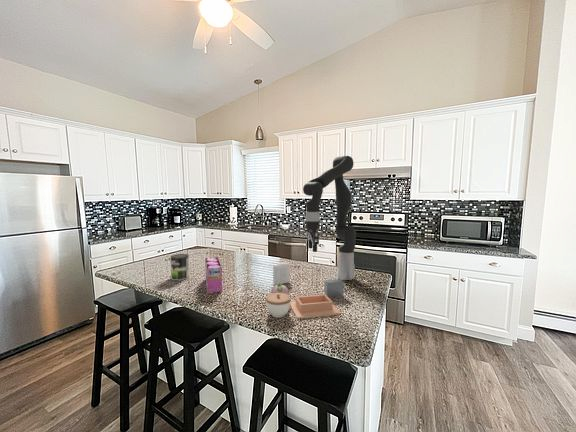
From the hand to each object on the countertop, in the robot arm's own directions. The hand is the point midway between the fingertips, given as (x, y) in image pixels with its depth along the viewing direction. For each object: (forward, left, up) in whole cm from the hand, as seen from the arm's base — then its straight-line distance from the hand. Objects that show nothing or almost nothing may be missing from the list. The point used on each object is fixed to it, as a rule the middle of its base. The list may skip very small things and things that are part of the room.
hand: (312, 249), depth 138 cm
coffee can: (+74, -37, -23) cm, 86 cm away
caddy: (+6, +21, -23) cm, 31 cm away
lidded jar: (+23, +23, -23) cm, 39 cm away
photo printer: (+14, -15, -23) cm, 31 cm away
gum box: (+53, -20, -23) cm, 61 cm away
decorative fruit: (+20, +12, -23) cm, 33 cm away
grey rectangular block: (-9, +9, -23) cm, 26 cm away
